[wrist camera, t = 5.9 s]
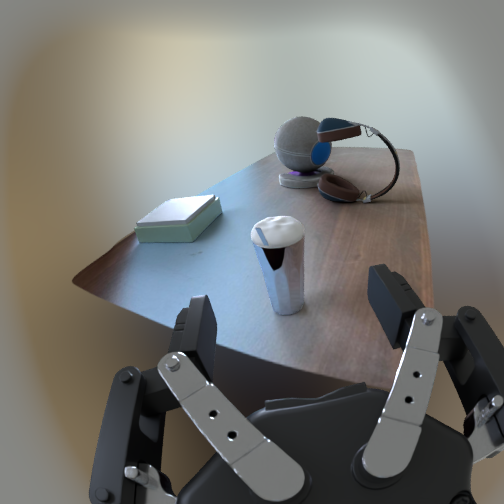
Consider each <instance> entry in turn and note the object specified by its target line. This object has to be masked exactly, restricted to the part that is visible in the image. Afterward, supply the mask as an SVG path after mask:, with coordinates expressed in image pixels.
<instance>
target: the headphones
mask: <svg viewBox="0 0 504 504" xmlns="http://www.w3.org/2000/svg"><path fill="white" fill-rule="evenodd" d="M361 125H362V126H364V127H365V129H366V127H367V128H370V131H371V132H373V134H375V135H376V136H377V135H378V136H379V137H380V138H381V139H382V140H383V141H384V143H385V144H386V145H387V146H388V148H389V149H390V151H391V153H392V155H393V157H394V160H395V165H396V169H395V175H394V178H393V180H392V182H391V183H390V184H389V185H388V186H387V187H386V188H385V189H383V190H382V191H380V192H379V193H377V194H375V195H373V196H371V195H368V196H367V194H366V197H364V198H363V199H358V198H359V197H360V196H359V190H358V188H357V187H355V186H354V185H353V184H351V183H350V182H348V181H346V180H344V179H343V178H340V177H338V176H336V175H333V174H323V175H322V176H321V177H320V180H319V183H318V184H317V185H318V188H319V192H320V194H321V195H322V196H323V197H324V198H325V199H327V200H331V201H342V202H351V201H363V203H366V202H371V200H373V199H375V198H378V197H380V196H382V195H384V194H386V193H387V192H388V191H389V190H391V188H392V187H393V186H394V185H395V183H396V181H397V179H398V176H399V171H400V163H399V158H398V155H397V152H396V150H395V148H394V147H393V145H392V144H391V143H390V141H389V140H388V139H387V138H386V137H385V136H383V135H382V134H381V133H380V132H379V131H378V130H376V129H374V128H373V127H369V126H366V125H363V124H359V123H354V122H350V121H346V120H342V119H336V118H326V119H324V120H323V121H322V122H321V123H320V125H319V126H318V129H317V131H316V132H317V136H318V140H319V142H321V143H325V142H332V141H338V140H343V139H347V138H352V137H355V136H359V135H361V129H360V126H361ZM366 133H367V131H366ZM373 134H372V135H373ZM368 137H369V136H368ZM383 137H384V138H385V139H386V140H385V139H384V138H383ZM284 179H287V178H284ZM292 180H294V179H292ZM298 181H300V180H298ZM305 182H307V181H305ZM312 183H314V182H312ZM362 192H363V191H362ZM365 192H366V191H365ZM361 194H362V193H361ZM361 194H360V195H361ZM358 196H359V197H358Z"/></svg>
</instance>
